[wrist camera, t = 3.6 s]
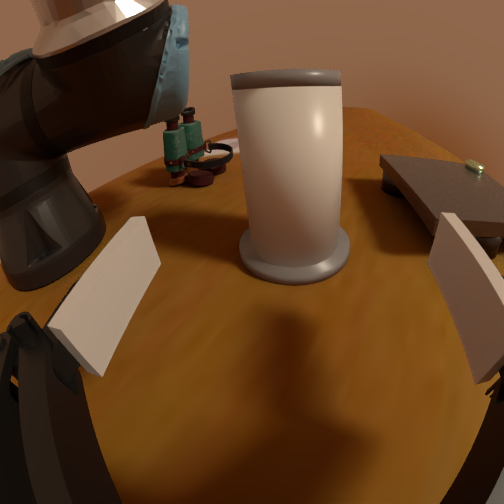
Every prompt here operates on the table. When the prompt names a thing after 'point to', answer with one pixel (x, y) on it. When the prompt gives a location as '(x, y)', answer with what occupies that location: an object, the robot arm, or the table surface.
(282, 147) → the white flanged cylinder
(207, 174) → the binoculars
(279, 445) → the table surface
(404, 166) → the stand
